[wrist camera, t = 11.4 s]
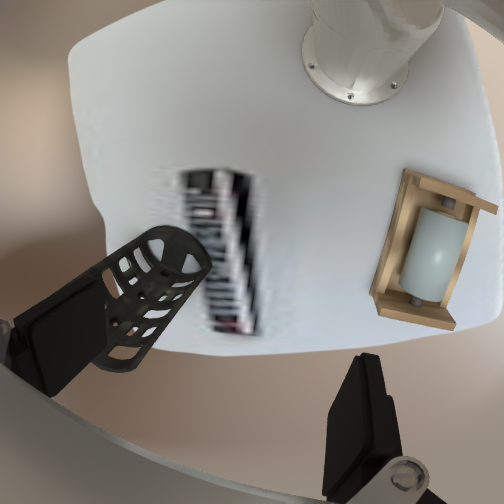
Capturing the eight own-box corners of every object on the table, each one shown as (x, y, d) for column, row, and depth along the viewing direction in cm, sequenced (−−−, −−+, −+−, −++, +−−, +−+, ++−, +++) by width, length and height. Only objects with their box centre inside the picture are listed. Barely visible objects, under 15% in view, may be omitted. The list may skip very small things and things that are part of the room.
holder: (219, 241, 39) (131, 335, 22) (210, 290, 43) (134, 392, 25) (146, 217, 41) (37, 283, 23) (142, 264, 44) (49, 342, 26)
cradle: (404, 168, 32) (422, 172, 26) (472, 192, 31) (499, 201, 24) (369, 292, 37) (377, 319, 31) (434, 307, 36) (451, 334, 30)
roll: (414, 201, 32) (434, 211, 26) (455, 214, 31) (478, 226, 26) (392, 276, 35) (405, 298, 29) (432, 285, 34) (449, 307, 29)
